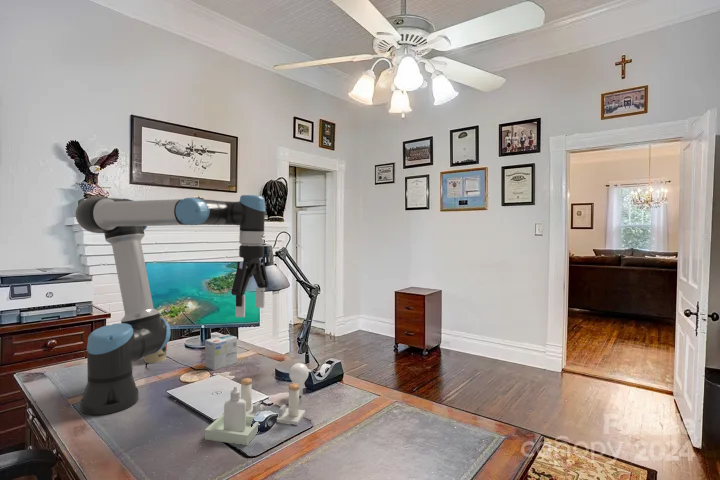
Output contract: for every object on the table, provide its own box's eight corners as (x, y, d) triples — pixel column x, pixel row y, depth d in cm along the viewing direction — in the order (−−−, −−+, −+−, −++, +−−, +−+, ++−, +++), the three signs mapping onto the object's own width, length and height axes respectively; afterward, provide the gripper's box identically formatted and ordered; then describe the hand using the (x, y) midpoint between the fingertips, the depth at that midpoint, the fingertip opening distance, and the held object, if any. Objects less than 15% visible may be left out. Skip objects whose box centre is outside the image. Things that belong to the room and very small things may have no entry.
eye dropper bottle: (230, 424, 109) (231, 382, 108) (248, 427, 107) (248, 384, 107) (220, 432, 105) (221, 388, 104) (239, 435, 103) (239, 391, 103)
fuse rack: (232, 416, 114) (233, 383, 114) (243, 405, 121) (244, 374, 121) (297, 425, 110) (298, 391, 110) (305, 413, 117) (306, 381, 117)
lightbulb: (304, 401, 125) (305, 368, 125) (285, 399, 126) (286, 366, 126) (310, 393, 131) (311, 361, 131) (292, 391, 132) (293, 359, 132)
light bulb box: (227, 359, 161) (227, 333, 160) (237, 363, 157) (238, 336, 157) (204, 366, 152) (204, 339, 152) (214, 370, 148) (214, 342, 148)
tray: (204, 439, 102) (204, 429, 102) (224, 420, 112) (225, 411, 112) (247, 445, 100) (247, 435, 100) (263, 425, 110) (264, 416, 110)
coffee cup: (160, 364, 153) (160, 334, 153) (137, 363, 153) (137, 333, 153) (172, 356, 162) (172, 327, 162) (150, 355, 163) (150, 327, 162)
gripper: (243, 247, 109) (242, 322, 110) (278, 243, 134) (277, 304, 135) (219, 246, 111) (218, 320, 112) (258, 242, 135) (257, 303, 136)
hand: (250, 311), depth 123 cm, fingers open, 13 cm apart
